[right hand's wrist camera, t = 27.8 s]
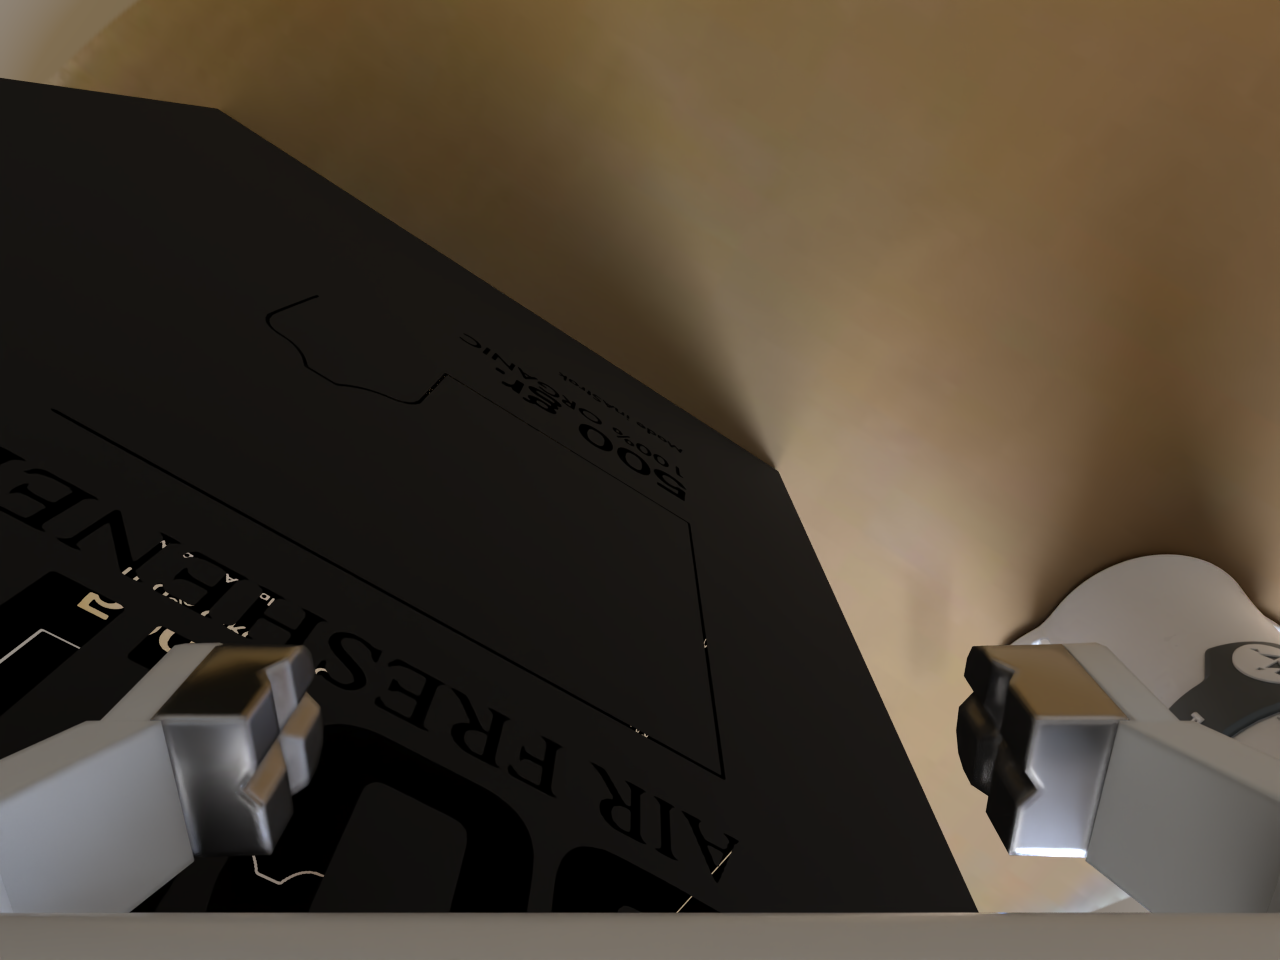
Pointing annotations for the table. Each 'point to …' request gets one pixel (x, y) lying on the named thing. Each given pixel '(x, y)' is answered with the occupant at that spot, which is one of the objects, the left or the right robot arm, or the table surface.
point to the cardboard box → (414, 553)
